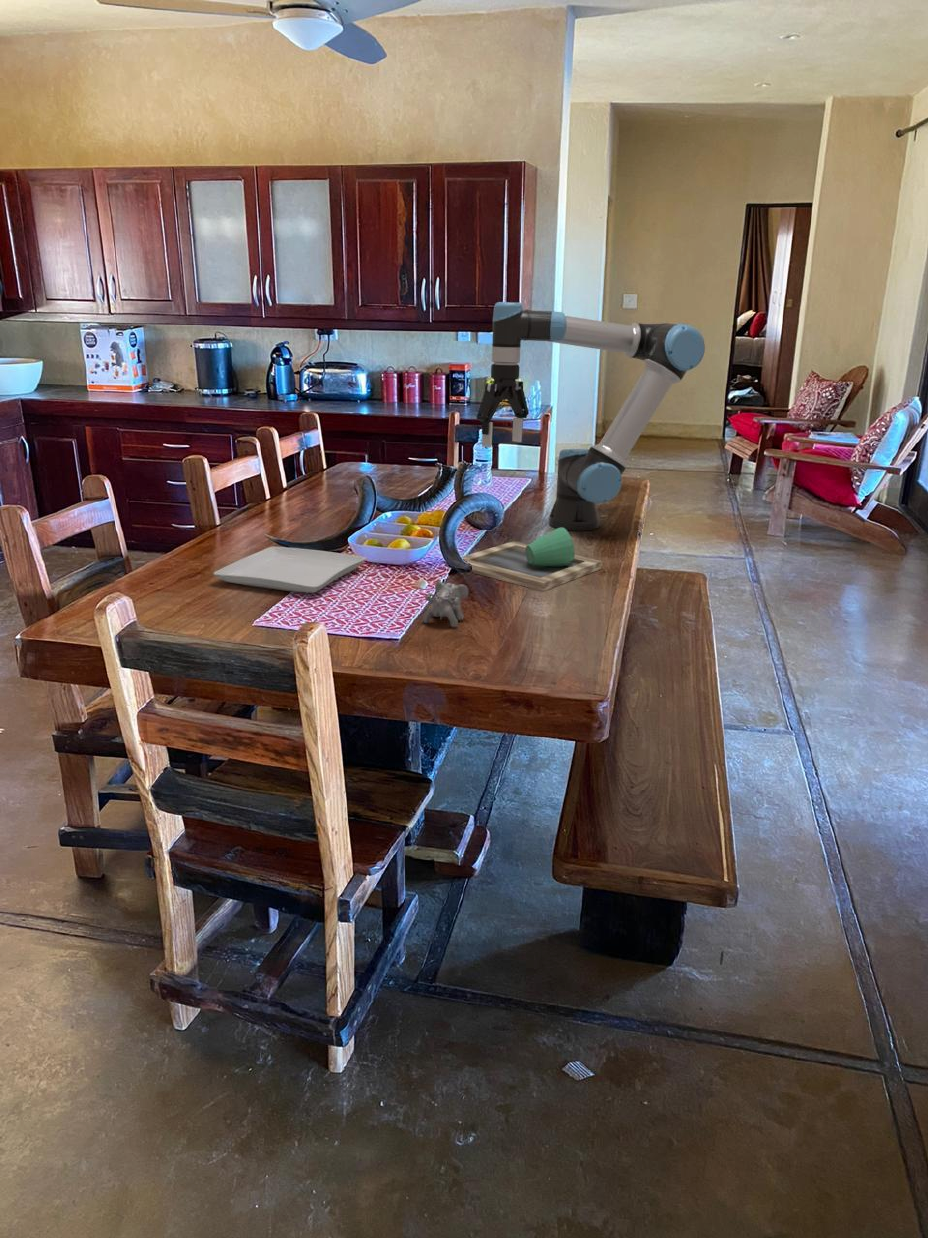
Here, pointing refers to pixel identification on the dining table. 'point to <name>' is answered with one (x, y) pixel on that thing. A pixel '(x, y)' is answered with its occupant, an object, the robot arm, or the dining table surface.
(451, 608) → the elephant statuette
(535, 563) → the green tapered cup
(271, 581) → the square plate
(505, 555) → the framed board
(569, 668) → the dining table surface
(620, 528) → the dining table surface
